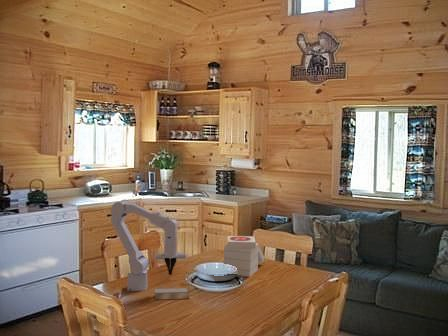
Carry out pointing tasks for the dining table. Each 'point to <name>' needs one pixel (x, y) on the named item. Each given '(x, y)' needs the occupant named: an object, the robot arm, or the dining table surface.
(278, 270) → the dining table surface
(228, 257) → the pizza boxes
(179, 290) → the grey board
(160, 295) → the walnut plank
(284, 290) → the dining table surface
